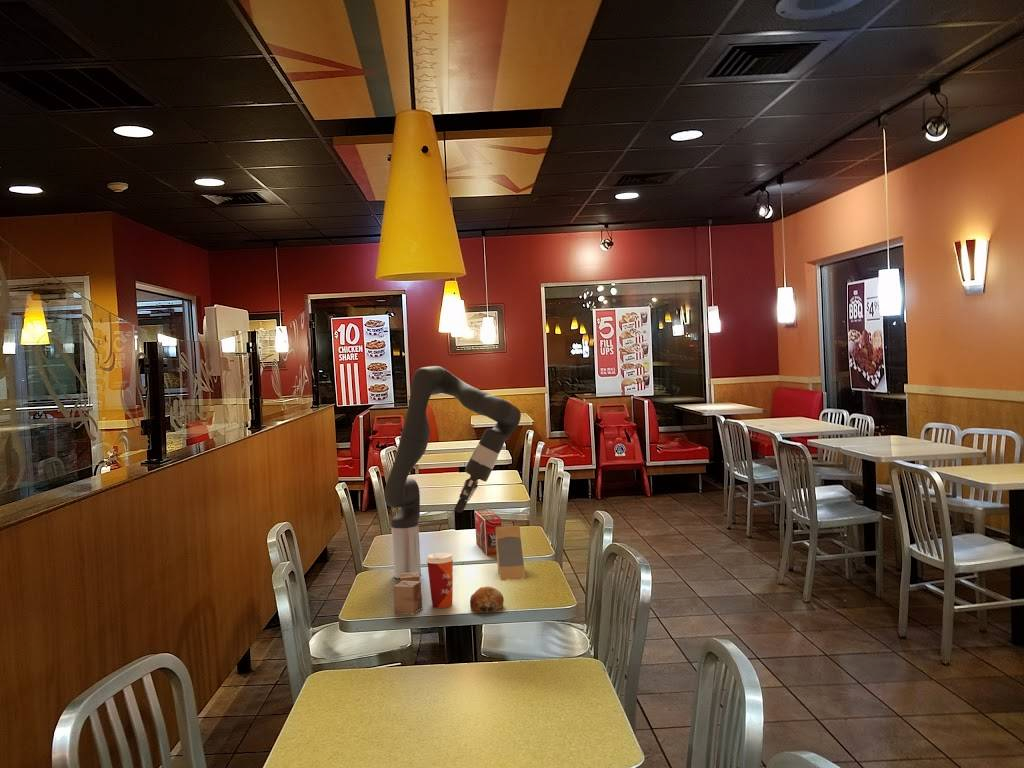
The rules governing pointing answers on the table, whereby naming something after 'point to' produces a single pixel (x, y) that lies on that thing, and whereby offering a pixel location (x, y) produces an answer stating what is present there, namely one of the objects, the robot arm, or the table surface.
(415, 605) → the three-dot block
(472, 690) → the table surface
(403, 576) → the two-dot block
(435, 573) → the coffee cup
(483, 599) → the bread roll
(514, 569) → the sandwich container
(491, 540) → the ice cream box
